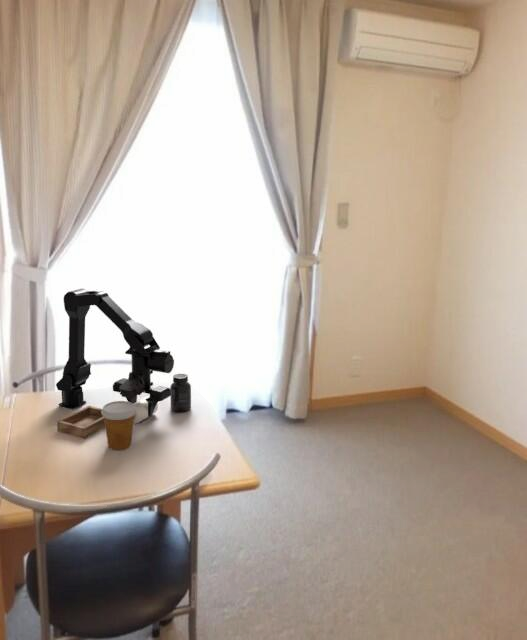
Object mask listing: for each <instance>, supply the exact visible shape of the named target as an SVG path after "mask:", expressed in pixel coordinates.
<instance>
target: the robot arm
mask: <svg viewBox="0 0 527 640" xmlns="http://www.w3.org/2000/svg"><path fill="white" fill-rule="evenodd" d="M63 305H64V311H65V312H66V314H67V316H68V360H67V362H66V363H65V365H64V367H63V371H62V377H61V379H59V381H57V382H56V383H55V385H56V386H55V387H56V388H57V390H58V391H61V402H60V403H58V406H60V407H65V408H68V409H71V410H74V409H76V408H78V407H80V406H82V405H84V404H87V401H86V400H84V391H83V385H86V383H87V380H88V379H89V378H90V375H92V373H91V367H92V364H91V363H89V362H87V361H86V359H85V346H86V344H85V342H86V341H85V340H86V317H87V314H88V312H89V311H90V308H91V306H95V307H97V309H99V310H100V312H102V313H103V314H104V315H105V316H106V317H107V318H108V320H110V322H112V323H113V324H114V325H115V326H116V327H117V329H119V330H120V331H121V333H122V336H123V339H124V340H125V342H126V343H127V345H128V346H129V347H128V349H127V350H126V351H124V354H126V355H131V371H130V372H129V374H128V378H124V377H123V378H122V377H121V379H118V380H116V381H114V382H113V384H112V391H113V392H116V393H119V395H120V396H121V397H122V398H125V399H126V401H127V402H131V403H132V404H134V403H135V402H137V401H138V396H141V395H142V394H143V393H144V394H147V395H149V396H150V397H149V398H147V399H146V401H147V402H148V415H149V417H152V416H153V411H154V409H155V407H156V405H157V404H158V402H162V401H164V400H165V399H168V398H170V396H171V390H170V388H169V387H167V386H162V385H158V386H156V387H154V388H153V386H154V382H153V381H151V379H152V378H151V375H152V374H153V373H154V372H158V373H163V374H164V373H165V374H171V372H172V370H173V369H174V365H175V359H174V356H173V355H172V354H171V351H170V350H160V349H161V347H160V346H159V344H158V343H157V340H156V339H155V338H154V335H153V332H152V331H151V329H149V328H148V327H146V326H145V325H144V324H143V323H140V322H138V321H135V320H134V319H132V318H131V317H130V316H129V314H127V312H125V311H124V310H123V309H122V308H121V306H120V305H118V304H117V303H116V302H115V301H114V300H113V299H112V298H111V297H110V295H109V294H108V292H107V291H104V290H103V291H97V290H90V291H89V290H88V289H85V288H78V289H75V290H72V291H71V290H70V291H67V292H66V293H65V294H64V295H63ZM145 347H146V348H145ZM149 417H148V418H149Z"/></svg>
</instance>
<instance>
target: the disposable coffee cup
mask: <svg viewBox="0 0 527 640" xmlns="http://www.w3.org/2000/svg"><path fill="white" fill-rule="evenodd" d="M102 409H103V410H102V411H101V413H102V415H103V417H104V423H105V433H106V439H107V445H108V446H107V447H108V448H109V449H110V450H113V451H122V450H123V451H124V450H127V449H129V448H130V447H131V446H132V440H133V439H132V436H133V429H134V423H133V420H134V414H135V412H136V409H135V407H134V404H132V403H131V402H128V401H127V400H126V401H125V400H116V401H115V400H114V401H111V402H108V403H106V404H104V405H103V406H102Z"/></svg>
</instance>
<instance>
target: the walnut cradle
mask: <svg viewBox="0 0 527 640" xmlns="http://www.w3.org/2000/svg"><path fill="white" fill-rule="evenodd" d="M102 410H103V408H101V407H96V406H92V405H88V406H86V407H83V408H82V409H78V411H76V412H74V413H72V414H69V415H68V416H65V417H64V418H63V417H62V418H61V419H59V420H57V421H56V426H57V427H56V429H57V432H59V433H63V434H67V435H69V436H74V437H77V438H80V439H84V440H85V439H87V438H88V437H92V435H94V434H96V433H99V432H100V431H101V430H102V429H104V428H105V423H104V417H103V415H102V413H101V411H102Z"/></svg>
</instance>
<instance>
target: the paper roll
mask: <svg viewBox="0 0 527 640" xmlns="http://www.w3.org/2000/svg"><path fill="white" fill-rule="evenodd" d="M149 397H150V395H148V396H144V397H143V398H141V399H139V400H137V402H135V403H134V407H135V409H136V412H135V414H134V420H133V425H134V424H136V425H137V424H139V423H140V422H141V421H144V420H145V419H147V418H149V415H148V402H147V401H146V399H147V398H149ZM158 409H159V406H158V403H157V405H156V407H155V409H154V411H153V414H155V413H156V412H157V411H158ZM153 414H152V415H153Z"/></svg>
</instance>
